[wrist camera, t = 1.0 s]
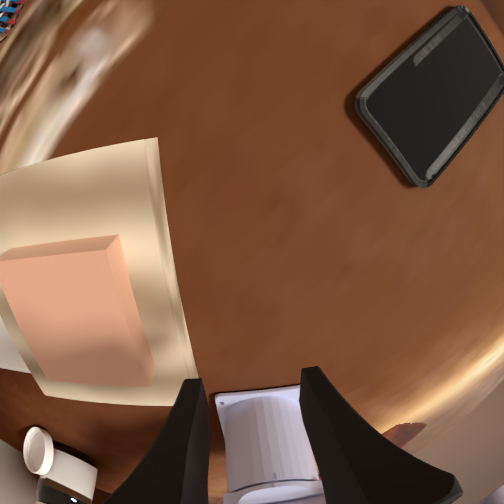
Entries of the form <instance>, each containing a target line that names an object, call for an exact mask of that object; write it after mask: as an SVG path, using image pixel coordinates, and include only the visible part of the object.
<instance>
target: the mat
mask: <svg viewBox="0 0 504 504" xmlns="http://www.w3.org/2000/svg"><path fill="white" fill-rule="evenodd" d="M0 368H4V369H9V370H15V371H21V372H27V373H31V372H30V371H29V369H28V367H27V366H26V364H25V362H24V361H23V359H22V357H21V355H20V353H19V352H18V350H17V348H16V346H15V344H14V342H13V341H12V339H11V337H10V335H9V333H8V331H7V329H6V327H5V325H4V322H3V320H2V318H1V316H0Z"/></svg>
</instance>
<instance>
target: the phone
mask: <svg viewBox="0 0 504 504" xmlns="http://www.w3.org/2000/svg"><path fill="white" fill-rule="evenodd" d="M503 93H504V65H503V63H502V61H501V59H500V58H499V56H498V54H497V52H496V51H495V49H494V47H493V45H492V44H491V42H490V40H489V39H488V37H487V36H486V34H485V32H484V31H483V29H482V28H481V26H480V25H479V23H478V22H477V20H476V19H475V18H474V16H473V15H472V13H471V12H470V11H469V10H468V9H467V8H466V7H464V6H462V5H458V6H455V7H453V8H451V9H450V10H448V11H446V12H445V14H444V15H441V16H440V17H439V18H438V19H437V21H434V22H433V23H432V24H430V27H429V28H428V29H426V30H425V31H424V32H423V33H422V34H421V35H420V36H419V37H417V38H416V39H415V40H414V41H413V42H412V43H411V44H410V45H408V46H407V47H406V48H405V49H404V50H403V51H402V52H401V53H400V54H399V55H397V56H396V57H395V58H394V59H393V60H392V61H391V62H390V63H389V64H388V65H387V66H385V67H384V68H383V69H382V70H381V71H380V72H379V73H378V74H377V75H376V76H375V77H374V78H373V79H372V80H370V81H369V82H368V83H367V84H366V85H365V86H364V87H363V88H362V89H361V90H360V91H359V92H358V94H357V95H356V97H355V109H356V112H357V114H358V115H359V117H360V118H361V119H362V121H363V122H364V123H365V124H366V125H367V124H368V125H367V127H368V128H369V129H370V130H371V131H372V133H373V134H374V135H375V136H376V138H377V139H378V140H379V141H380V143H381V144H382V145H383V146H384V148H385V149H386V150H387V152H388V153H389V154H390V156H391V157H392V158H393V160H394V161H395V162H396V164H397V165H398V167H399V168H400V169H401V171H402V172H403V174H404V175H405V176H406V178H407V179H408V181H409V182H410V183H411V184H413V185H415V186H418V187H420V188H427V187H429V186H430V185H432V184H433V183H434V182H435V180H436V179H437V178H438V177H439V176H440V175H441V173H442V172H443V171H444V170H445V169H446V167H447V166H448V165H449V164H450V163H451V161H452V160H453V159H454V158H455V157H456V155H457V154H458V153H459V152H460V150H461V149H462V148H463V147H464V145H465V144H466V143H467V142H468V140H469V139H470V138H471V136H472V135H473V134H474V133H475V131H476V130H477V129H478V127H479V126H480V125H481V123H482V122H483V121H484V119H485V118H486V117H487V115H488V114H489V113H490V111H491V110H492V108H493V107H494V106H495V104H496V103H497V101H498V100H499V99H500V97H501V96H502V94H503Z"/></svg>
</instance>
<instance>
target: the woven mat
mask: <svg viewBox="0 0 504 504" xmlns="http://www.w3.org/2000/svg"><path fill="white" fill-rule="evenodd" d="M25 1H26V0H0V5H1V6H0V41H1V40H2V39H4V38H5V37H6V36H7V34H8V32H9V30H10V28H11V26H12V24H15V23H16V20H15V18H16V17H17V15H19V13H20V11H21V8H22V6H23V4H24V3H25ZM1 3H2V4H1ZM15 4H18V5H17V7H16V8H12V5H15ZM9 13H10V14H12V16H11V18H10V19H9V17H7V15H8V14H9ZM1 16H2V17H1ZM3 23H7V25H6V27H5V28H1V26H2V24H3Z"/></svg>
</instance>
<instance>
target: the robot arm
mask: <svg viewBox="0 0 504 504" xmlns="http://www.w3.org/2000/svg"><path fill="white" fill-rule="evenodd" d="M215 403H216V407H217V411H218V415H219V419H220V423H221V427H222V431H223V435H224V439H225V451H226V470H227V487H228V493H225V494H223V504H451V503H453V502H454V501H456V500H457V499H458V498H459V497H461V496H462V494H463V490H462V488H461V486H460V484H459V483H458V481H457V479H456V478H455V476H454V475H453V474H451V473H448V472H446V471H443V470H441V469H438V468H436V467H434V466H431V465H429V464H427V463H425V462H423V461H421V460H420V459H417V458H416V457H414V456H413V455H411V454H409V453H408V452H406V451H404V450H403V449H401V448H400V447H398V446H396V445H395V444H394V443H392V442H391V441H389V440H388V439H387V438H385V437H384V436H383V435H382V434H380V433H379V432H378V431H377V430H375V429H374V428H373V427H372V426H371V425H370V424H369V423H368V422H366V421H365V420H364V419H363V418H362V417H361V416H360V415H359V414H358V413H357V412H356V411H355V410H354V409H353V408H352V407H351V406H350V404H349V403H348V402H347V401H346V400H345V399H344V398H343V397H342V396H341V394H340V393H339V392H338V391H337V390H336V388H335V387H334V386H333V385H332V383H331V382H330V381H329V380H328V378H327V377H326V376H325V374H324V373H323V371H322V370H321V369H320V367H318V366H315V367H308V368H302V371H301V382H300V385H297V386H290V387H283V388H275V389H266V390H257V391H246V392H235V393H220V394H217V395H215ZM210 436H211V428H210V409H209V405H208V402H207V398H206V394H205V390H204V386H203V382H202V378H195V379H185V380H184V381H183V383H182V386H181V388H180V391H179V393H178V396H177V398H176V400H175V403H174V405H173V407H172V409H171V411H170V413H169V415H168V417H167V419H166V421H165V423H164V425H163V427H162V429H161V430H160V432H159V434H158V436H157V437H156V439H155V441H154V442H153V444H152V446H151V447H150V449H149V450H148V452H147V453H146V455H145V456H144V457H143V459H142V460H141V462H140V463H139V464H138V465H137V467H136V468H135V469H134V470H133V472H132V473H131V474H130V475H129V477H128V478H127V479H126V480H125V481H124V482H123V483H122V484H121V485H120V486H119V487H118V488H117V489H116V490H115V491H114V492H113V493H112V494H111V495H110V497H108V498H107V499H106V500H105V501H104V502H103V503H102V504H209V503H208V466H209V451H210ZM310 445H311V446H310ZM311 448H312V449H311ZM312 451H313V453H312ZM313 454H314V457H315V460H316V463H317V466H318V469H319V473H320V476H321V480H319V476H318V472H317V468H316V465H315V461H314V457H313ZM476 504H504V483H503V484H502V485H501V486H499V487H498V488H497V489H495V490H494V491H493V492H491V493H490V494H489V495H487V496H486V497H485V498H484V499H482V500H481V501H479V502H478V503H476Z"/></svg>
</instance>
